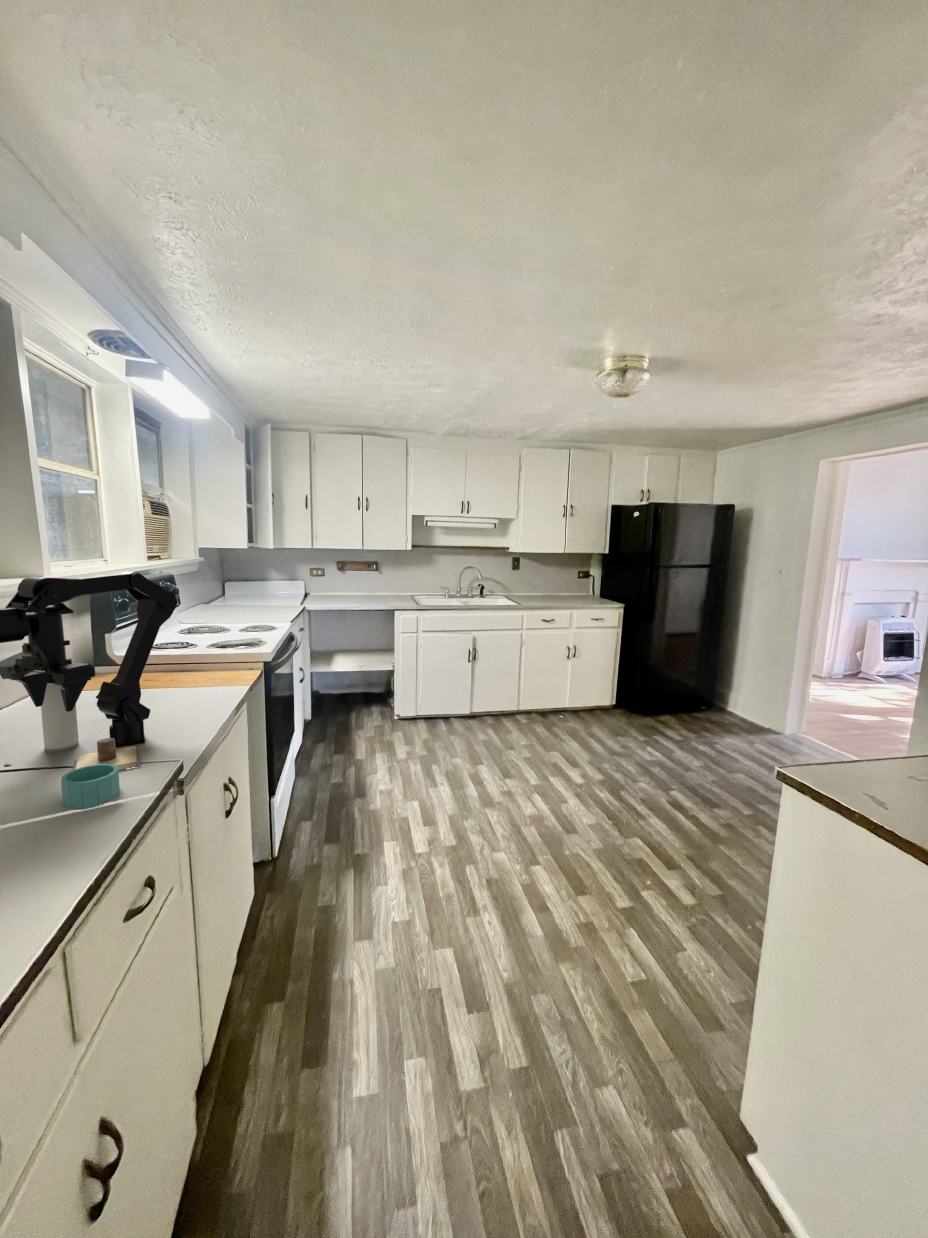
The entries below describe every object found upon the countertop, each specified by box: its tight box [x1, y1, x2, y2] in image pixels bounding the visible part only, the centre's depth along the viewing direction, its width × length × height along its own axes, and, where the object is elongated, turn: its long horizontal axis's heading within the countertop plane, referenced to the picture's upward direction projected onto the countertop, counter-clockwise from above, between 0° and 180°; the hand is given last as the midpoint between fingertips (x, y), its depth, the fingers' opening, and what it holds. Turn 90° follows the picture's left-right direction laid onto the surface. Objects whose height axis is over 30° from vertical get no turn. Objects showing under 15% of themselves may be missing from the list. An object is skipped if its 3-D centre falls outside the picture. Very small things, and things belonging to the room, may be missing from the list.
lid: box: [76, 737, 137, 770], centre depth 106 cm, size 10×10×5 cm
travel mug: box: [40, 664, 80, 753], centre depth 114 cm, size 6×7×20 cm
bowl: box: [60, 764, 121, 811], centre depth 92 cm, size 8×8×5 cm
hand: (54, 708), depth 104 cm, fingers open, 9 cm apart
